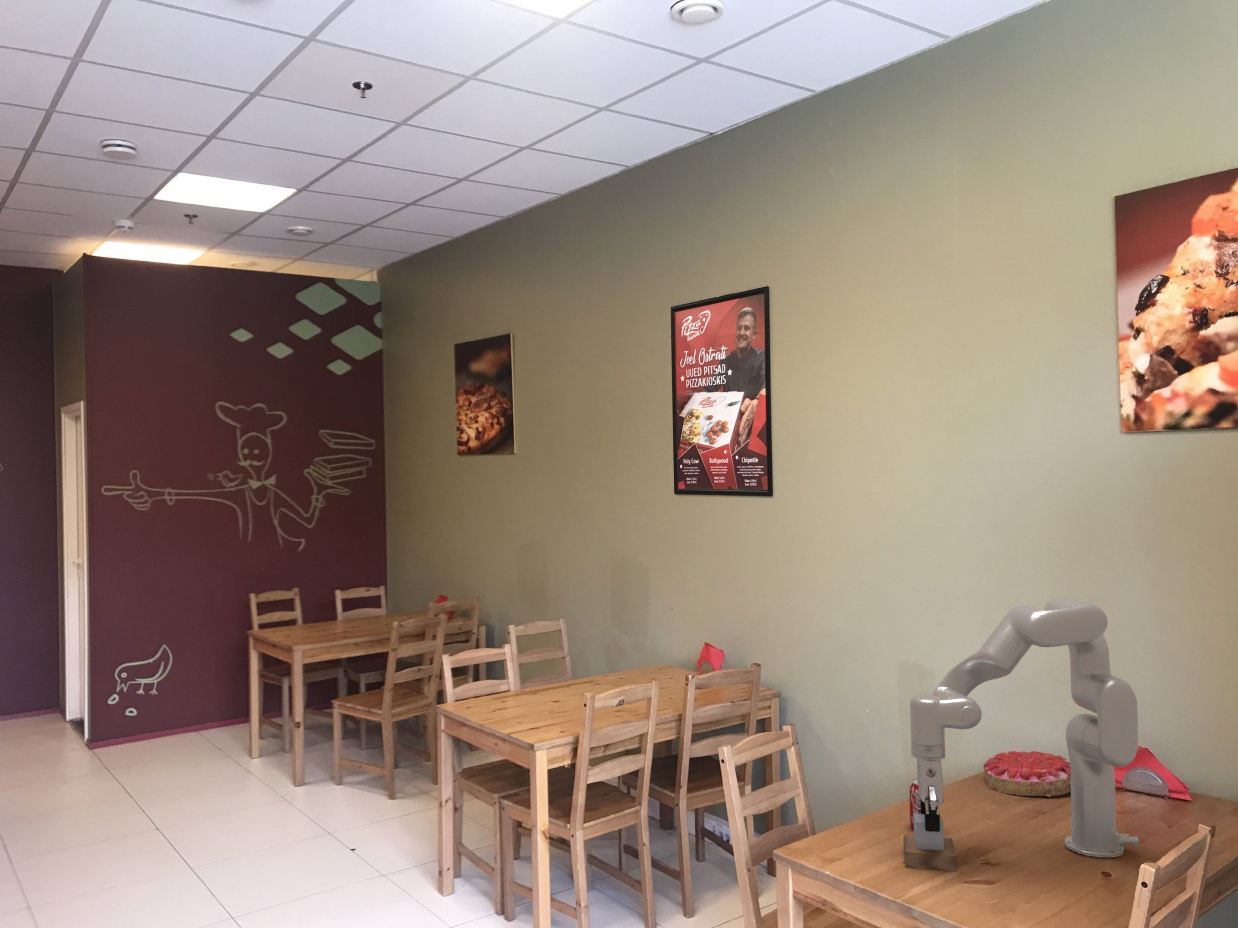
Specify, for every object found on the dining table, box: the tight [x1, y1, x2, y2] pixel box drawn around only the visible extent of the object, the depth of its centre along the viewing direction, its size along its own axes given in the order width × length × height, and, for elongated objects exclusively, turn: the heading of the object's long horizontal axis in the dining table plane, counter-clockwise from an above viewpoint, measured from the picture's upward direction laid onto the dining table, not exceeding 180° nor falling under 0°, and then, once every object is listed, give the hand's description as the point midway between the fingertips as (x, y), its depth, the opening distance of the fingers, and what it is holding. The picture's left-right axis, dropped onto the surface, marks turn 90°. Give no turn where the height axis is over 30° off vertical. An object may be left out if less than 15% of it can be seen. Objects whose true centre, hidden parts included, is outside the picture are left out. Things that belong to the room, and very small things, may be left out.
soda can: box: [909, 778, 940, 829], centre depth 242 cm, size 7×7×12 cm
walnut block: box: [903, 834, 957, 873], centre depth 223 cm, size 11×11×4 cm
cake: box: [983, 750, 1071, 797], centre depth 276 cm, size 25×25×8 cm
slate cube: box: [913, 814, 945, 851], centre depth 223 cm, size 6×6×6 cm
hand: (930, 823), depth 223 cm, fingers open, 9 cm apart
